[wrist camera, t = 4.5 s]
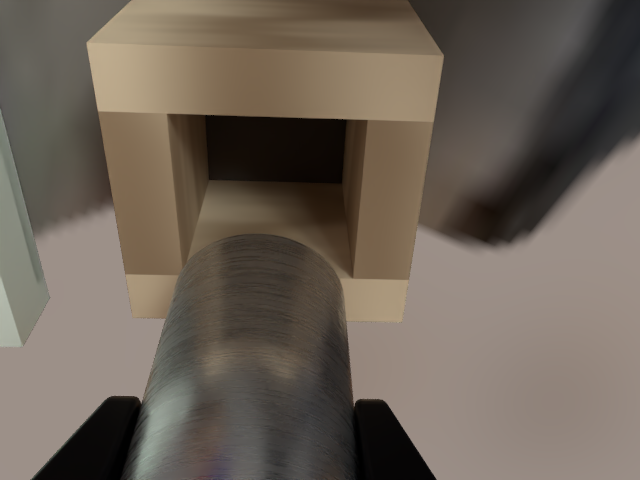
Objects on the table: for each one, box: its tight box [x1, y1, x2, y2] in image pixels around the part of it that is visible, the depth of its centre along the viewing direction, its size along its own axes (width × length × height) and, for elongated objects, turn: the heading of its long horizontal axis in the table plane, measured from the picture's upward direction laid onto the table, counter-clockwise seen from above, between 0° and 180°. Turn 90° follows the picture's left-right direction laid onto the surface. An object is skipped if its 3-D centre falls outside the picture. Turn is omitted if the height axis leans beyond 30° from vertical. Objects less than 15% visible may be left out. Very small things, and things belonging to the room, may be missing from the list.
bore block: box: [87, 0, 444, 322], centre depth 16 cm, size 7×7×5 cm
